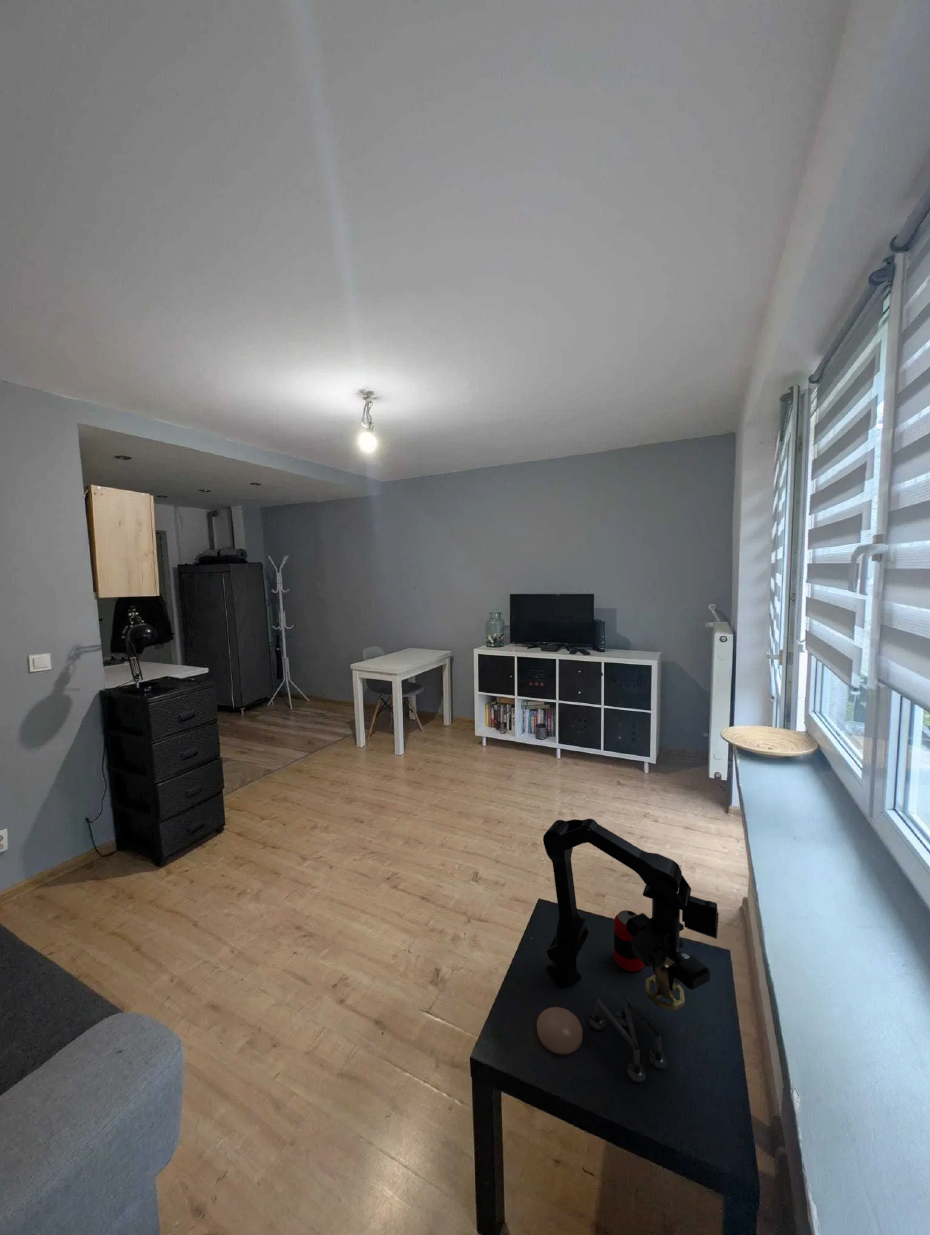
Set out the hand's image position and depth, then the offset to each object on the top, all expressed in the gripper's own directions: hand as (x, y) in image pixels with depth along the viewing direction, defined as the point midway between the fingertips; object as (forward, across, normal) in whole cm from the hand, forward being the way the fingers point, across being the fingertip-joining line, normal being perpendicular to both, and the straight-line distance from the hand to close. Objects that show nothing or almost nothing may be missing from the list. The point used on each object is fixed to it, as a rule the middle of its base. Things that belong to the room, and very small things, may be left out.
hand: (664, 982), depth 105 cm
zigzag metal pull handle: (+9, 0, -11) cm, 15 cm away
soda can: (+10, -16, +5) cm, 19 cm away
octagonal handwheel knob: (+3, 0, 0) cm, 3 cm away
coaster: (+9, -8, -23) cm, 26 cm away
